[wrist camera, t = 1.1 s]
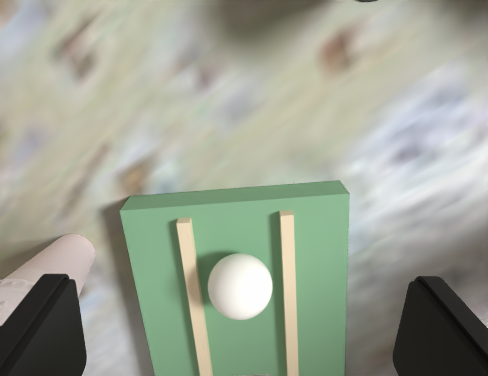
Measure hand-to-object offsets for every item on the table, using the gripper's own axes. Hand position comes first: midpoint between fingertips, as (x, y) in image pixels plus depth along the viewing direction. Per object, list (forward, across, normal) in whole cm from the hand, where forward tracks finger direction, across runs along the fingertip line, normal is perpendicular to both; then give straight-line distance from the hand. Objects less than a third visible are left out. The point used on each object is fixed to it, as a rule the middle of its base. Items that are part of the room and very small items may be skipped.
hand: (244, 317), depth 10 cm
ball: (+16, -1, +10) cm, 19 cm away
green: (+21, -2, +20) cm, 29 cm away
